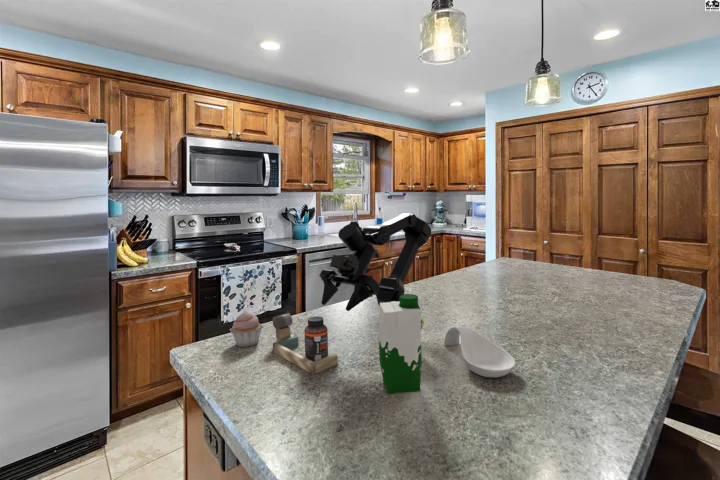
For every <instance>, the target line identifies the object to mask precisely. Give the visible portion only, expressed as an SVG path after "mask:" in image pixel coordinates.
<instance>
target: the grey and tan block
mask: <svg viewBox="0 0 720 480" xmlns="http://www.w3.org/2000/svg"><path fill="white" fill-rule="evenodd" d="M292 324H293V317H292V315H291V314H290V311H286V313H284V314H279V315H276V316H273V317H272V325H273V328H274V329H275V338H276V341H275V342H278V341H281V340H284V339H288V338H291V326H292Z"/></svg>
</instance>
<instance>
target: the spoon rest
mask: <svg viewBox="0 0 720 480" xmlns="http://www.w3.org/2000/svg"><path fill="white" fill-rule="evenodd" d="M443 341H444V342H443V345H444V346H445V347H447V346H450V347H451V346H455V345H456V346H457V345H459V344H460V352H461V357H462V359H463V362H464V364H465V365H466V366H467V368H468V369H469V370H470V371H471V372H473V373H475V374H476V375H479V376H481V377H484V378H500V377H501V378H502V377H504V376H507V375H508V374H509V373H511V372H512V371H513V370H514V369H515V367H516V364H517V363H516V360H515V358H514V357H513V356H512V355H511V354H510V353H509V352H507V351H506V350H504V349H503V348H502V347H500V346H498V345H497V344H495V343H494V342H492V341H490V340H489V339H487V338H486V337H484V336H483V335H482V334H480V333H479V332H477V331H476V330H474V329H473V328H471V327H469V326H465V325H461V326H459V327H456V326H453V327H451V328H449V329H448V331H447V332H446V334H445V336H444V340H443Z"/></svg>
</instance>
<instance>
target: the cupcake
mask: <svg viewBox="0 0 720 480" xmlns="http://www.w3.org/2000/svg"><path fill="white" fill-rule="evenodd" d="M263 327H264V325H262V324H261V323H260V322H259V318H258V317H257V315H255V314H253V313H251V312H249V311H248V310H246V309H245V310H243V312H242V313H240V314H239V315H238V316H237V317H236V318H235V320H234V322H233V323H232V328H230V329H229V331H230V332H231V334H232V336H233V339H234V341H235V344H236V346H237V347H241V348H248V347H253V346H256V345H257V344H258V343H259V341H260V336H261V332H262V329H263Z"/></svg>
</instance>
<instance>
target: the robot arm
mask: <svg viewBox="0 0 720 480" xmlns="http://www.w3.org/2000/svg"><path fill="white" fill-rule="evenodd" d="M400 231H402V232H404V239H405V242H404V243H405V244H404V245H403V247H402V250H401V251H400V254H399V256H398V257H397V260H396V262H395V263H394V266H393V269H392V270H391V272H390V274H389V276H388V277H385V276H383V277H381V278H380V281H379V282H377V280H376V279H375V278H374V276H373V275H370V274H369V273H370V269H369V266H370V264H371V262H372V261H373V259H380V255H379V250H378V248H375V247H374V246H377V247H378V246H381V247H382V246H384V245H385V244H387V242H389V241H390V240H391V237H392V236H393V235H395V234H397V233H399V232H400ZM337 234H338V235H337V236H338V237H339V240H341V242H343V244H344V246H345V247H346V248H347V249H348V250H349V251H350V252H353V253H352V254H349V255H347V256H343V255H338V254H332V257H331V260H330V264H329V266H330V267H332V268H336V269H337V272H336V271H335V270H333V269H326V268H324V269H321V272H320V273H319V275H318V276H319V278H320V280H321V281H322V282H323V293H322V298H321V305H322V306H325V305H327V304H328V302H330V300H331V299H332V297H333V296H334V295H335V294H336V293H337V292H338V291H339V289H338V288H339V287H341V284H345V285H348V286H349V285H350V286H354V288H353V292H352V294H351V295H350V298H349V300H348V302H347V304H346V306H345V311H347V312H350V311H351V310H352V309H353V308H355V307H356V306H357V305H359V304H360V303H362V302H364V301H365V300H367V299H369V298H372V297H373V296H375V297H376V301H377V304H378V306H379V307H380V303H386V302H391V301H396V302H397V301H400V296H401V295H404V294H405V284H404V282H405V279H406V277H407V276H408V273H409V271H410V269H411V267H412V264H413V262H414V260H415V258H416V255H417V253H418V251H419V249H420V248H422V247H423V246H424V245H425V244H427V242H428V240H429V239H430V237H431V235H432V228H431V226H430V225H429V224H428V223H427V222H426V221H425V220H422V219H421V218H419V217H417V216H416V214H413V212H412V213H411V212H410V213H404V212H403V213H401V214H399V215H397V216H396V217H393V218H391V219H390V220H387V221H385V222H383V223H380V224H370V225H365V226H364V227H363V228H361V227H360V225H359V223H358V221H350V222H349V223H348V224H346V225H344V226H343V227H342V228H341V229H340V230H339V231H338V233H337ZM338 273H339V274H340V275H338ZM368 274H369V275H368Z"/></svg>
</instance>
